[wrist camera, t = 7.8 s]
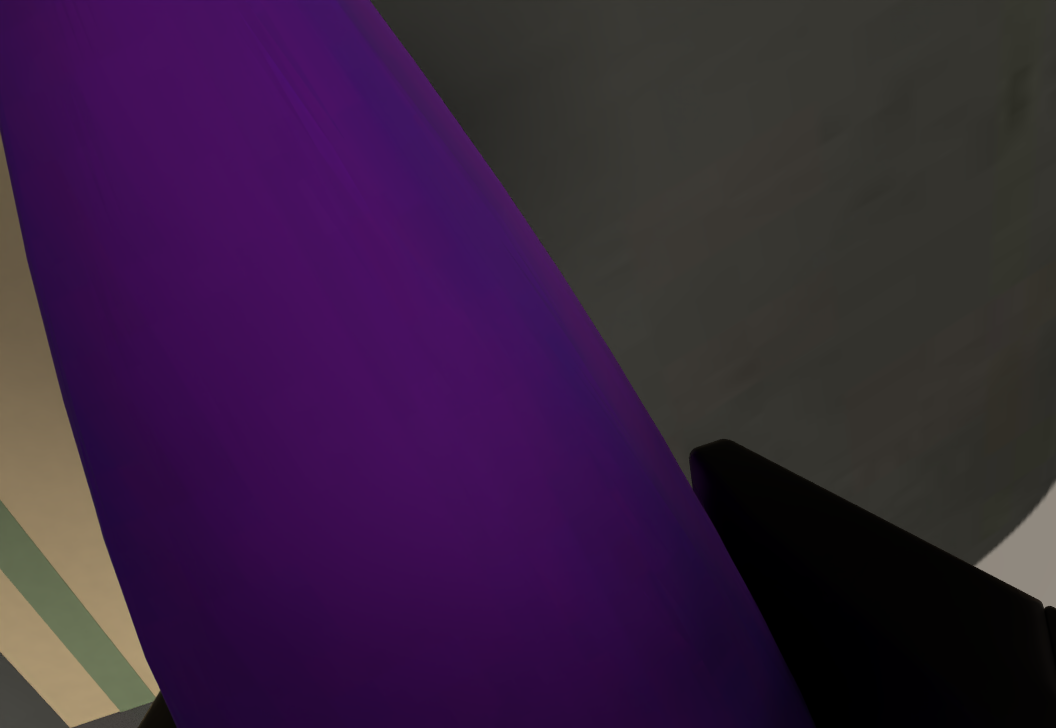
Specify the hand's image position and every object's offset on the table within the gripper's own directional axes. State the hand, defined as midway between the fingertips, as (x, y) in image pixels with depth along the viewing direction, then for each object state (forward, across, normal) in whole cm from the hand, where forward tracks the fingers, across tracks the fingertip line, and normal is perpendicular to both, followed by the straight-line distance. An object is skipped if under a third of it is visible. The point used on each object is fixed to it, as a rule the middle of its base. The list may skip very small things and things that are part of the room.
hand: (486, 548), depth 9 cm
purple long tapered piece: (+1, 0, 0) cm, 1 cm away
